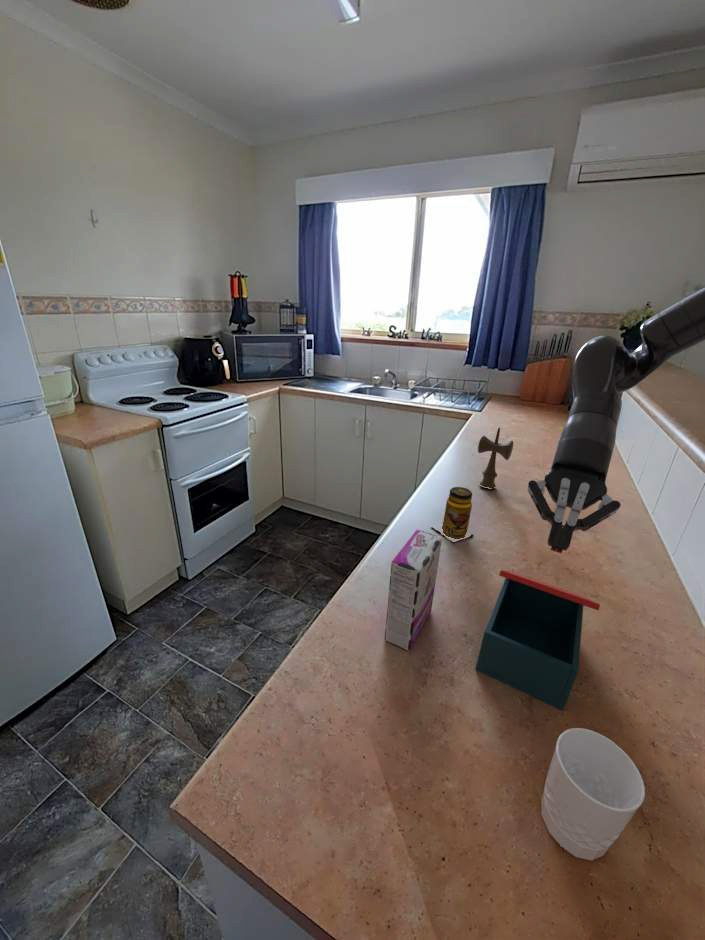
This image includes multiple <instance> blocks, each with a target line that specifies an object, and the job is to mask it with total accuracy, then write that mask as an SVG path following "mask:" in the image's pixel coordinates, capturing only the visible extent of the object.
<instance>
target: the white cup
mask: <svg viewBox="0 0 705 940" xmlns="http://www.w3.org/2000/svg"><path fill="white" fill-rule="evenodd" d="M645 795H646V789H645V783H644V779H643V777H642V774H641V773H640V770H639V769H638V767H637V766H636V764H635V762H634V761H633V760H632V758H631V757H630V756H629V755H628V754H627V753H626V752H625V750H623V749H622V748H621V747H620V746H619V745H617V744H616V743H615V742H614V741H613V740H611V739H609V738H608V737H606V736H604V735H603V734H601V733H598V732H596V731H594V730H592V729H588V728H582V727H574V728H573V727H571V728H568V729H566V730H564V731H563V732H562V733H561V734H560V735H559V736H558V738H557V740H556V744H555V748H554V750H553V754H552V757H551V760H550V763H549V767H548V771H547V775H546V779H545V782H544V787H543V792H542V795H541V798H540V813H541V814H540V815H541V817H542V819H543V822H544V824H545V827H546V829H547V831H548V833H549V834H550V836H551V837H552V838H553V839H554V840H555V841H556V843H557V842H558V843H557V844H558V845H559V844H560V845H559V847H561V848H562V847H563V848H564V849H563V848H562V849H563V850H565V851H566V850H567V851H566V852H568V853H569V854H571V855H572V856H574V857H575V858H577V859H581V860H586V861H591V862H592V861H595V860H597V859H599V858H602V857H603V856H604V855H605V854H606V853H607V851H608V850H609V848H610V846H612V845H613V844H614V843H615V842H616V841H617V840H618V838H619V836H620V835H621V834H622V833H623V832H624V830H625V829H626V827H627V826H628V825H629V823H630V821H631V820H632V819H633V817H634V816H635V814H636V813H637V811H638V810H639V808H640V807H641V806H642V804H643V802H644V800H645Z"/></svg>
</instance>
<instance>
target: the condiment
mask: <svg viewBox="0 0 705 940" xmlns="http://www.w3.org/2000/svg"><path fill="white" fill-rule="evenodd" d="M472 496H473V492H472V491H471V490H470V489H468V488H466V487H463V486H454V487H452V488H450V490H449V494H448V497H447V499H446V503H445V509H444V515H443V520H442V521H443V522H442V523H443V526H442V529H443V533H444V534H445V535H446V536H448V537H451V538H454V539H460V538H464V537H465V535H466V533H467V531H468V528H469V523H470V518H471V514H472V507H473V503H472V501H473V500H472V498H473V497H472Z"/></svg>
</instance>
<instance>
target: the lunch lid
mask: <svg viewBox="0 0 705 940" xmlns="http://www.w3.org/2000/svg"><path fill="white" fill-rule="evenodd" d="M498 575H499V577H502V578H504V579H505V578H508V579H511V580H514V581H516V582H519V583H522V584H525V585H528V586H531V587H533V588H536V589H539V590H542V591H545V592H548V593H550V594H553V595H556V596H559V597H562V598H564V599H567V600H570V601H573V602H576V603H579V604H581V605H583V607H584V606H585V607H587V608H590V609H592V610H595V611H599V610H600V607H601V604H600V603H599V602H596V601H594V600H592V599H590V598H588V597H586V596H584V595H580V594H579V593H575V592H572V591H570V590H566V589H565V588H564V589H563V588H560V587H558V586H555V585H552V584H549V583H546V582H543V581H540V580H537V579H535V578H533V577H532V578H531V577H529V576H526V575H523V574H520V573H518V572H514V571H512V570H507V569H505V570H504V569H501V570H500V571H499V574H498Z"/></svg>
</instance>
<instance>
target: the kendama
mask: <svg viewBox="0 0 705 940" xmlns="http://www.w3.org/2000/svg"><path fill="white" fill-rule="evenodd" d="M500 433H501V427H498V428H497V431H496V435H495V439H494V441H492V440H490V439H489V438H488V437H487V436H486V435H482V436H481V438H480V439H479V442H478V445H477V452H478V454H483V453H486V452H491V454H490V458H489V460H488V462H487V466H486V468H485V470H483V471H482V473H481V474H482V480H481V481H480V482H479V483H480V485H482V486H484V487H489V488H494V487H496V488H497V485H496V483H495V479H496V478H497V477H498V473H497V472H496V461H497V454H499V455H500V456H502V458H503V459H504V460H506V461H508V460H510V458H511V456H512V453H513V449H514V441H513V440H509V441H506V442H501V443H500V442H499V439H500ZM480 485H479V486H480Z"/></svg>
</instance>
